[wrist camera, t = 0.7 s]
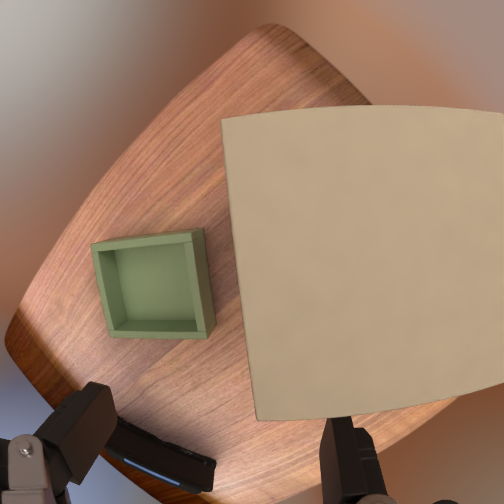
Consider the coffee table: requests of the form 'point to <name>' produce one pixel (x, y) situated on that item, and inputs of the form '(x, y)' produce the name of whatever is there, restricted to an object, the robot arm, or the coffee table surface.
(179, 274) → the socket
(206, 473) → the game console
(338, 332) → the tan lidded box
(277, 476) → the coffee table surface
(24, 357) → the coffee table surface
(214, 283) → the coffee table surface
